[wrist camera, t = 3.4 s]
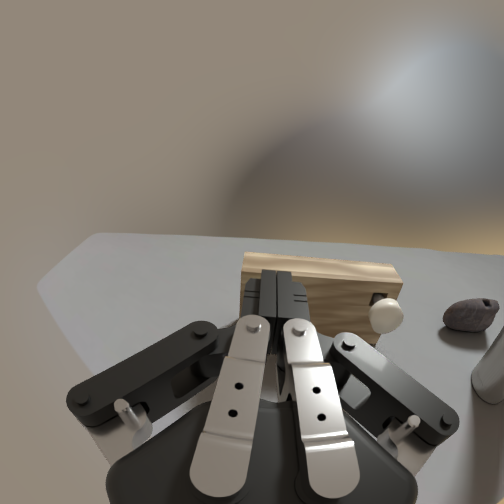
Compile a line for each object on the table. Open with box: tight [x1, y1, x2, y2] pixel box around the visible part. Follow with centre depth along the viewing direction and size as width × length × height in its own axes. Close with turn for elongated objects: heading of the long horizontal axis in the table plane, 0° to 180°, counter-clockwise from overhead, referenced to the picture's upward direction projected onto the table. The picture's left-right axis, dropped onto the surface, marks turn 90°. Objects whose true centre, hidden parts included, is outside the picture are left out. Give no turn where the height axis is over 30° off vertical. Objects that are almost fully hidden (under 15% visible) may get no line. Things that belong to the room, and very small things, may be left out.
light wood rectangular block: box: [239, 252, 403, 344], centre depth 38 cm, size 5×22×12 cm, turn 86°
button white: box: [368, 293, 403, 334], centre depth 33 cm, size 6×4×4 cm
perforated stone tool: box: [443, 298, 499, 332], centre depth 39 cm, size 15×5×7 cm, turn 78°
